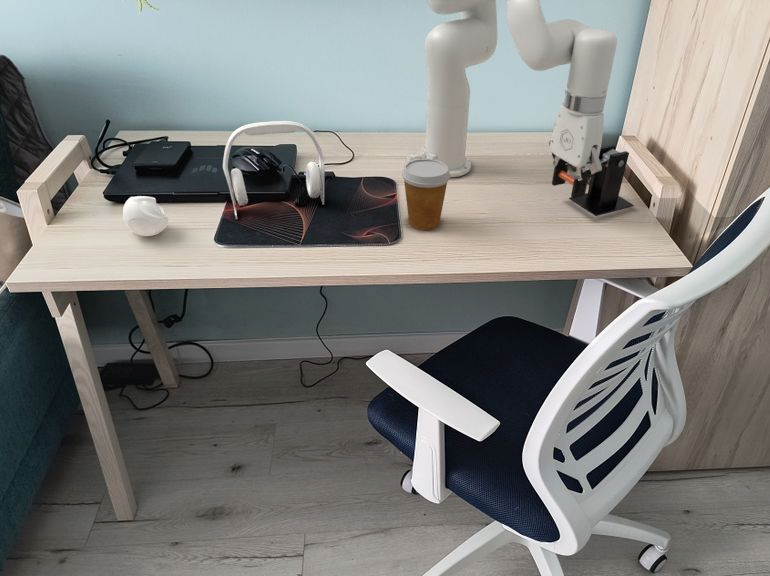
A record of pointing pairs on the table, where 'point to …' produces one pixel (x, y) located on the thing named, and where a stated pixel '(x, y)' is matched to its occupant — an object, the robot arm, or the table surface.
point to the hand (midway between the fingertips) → (568, 189)
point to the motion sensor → (144, 216)
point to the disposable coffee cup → (425, 191)
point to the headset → (312, 171)
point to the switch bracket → (606, 185)
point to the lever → (573, 176)
